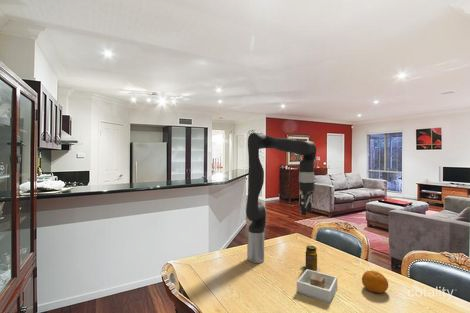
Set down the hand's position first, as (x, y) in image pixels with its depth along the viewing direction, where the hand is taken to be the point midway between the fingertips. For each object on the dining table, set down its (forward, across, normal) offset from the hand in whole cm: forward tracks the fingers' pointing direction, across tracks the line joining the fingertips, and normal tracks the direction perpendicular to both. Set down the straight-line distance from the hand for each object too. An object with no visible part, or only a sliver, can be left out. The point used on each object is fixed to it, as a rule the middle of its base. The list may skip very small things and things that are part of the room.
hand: (306, 213), depth 121 cm
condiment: (+33, -12, -2) cm, 36 cm away
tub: (+33, +7, +7) cm, 35 cm away
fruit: (+33, -8, +29) cm, 45 cm away
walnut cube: (+32, +7, +7) cm, 34 cm away
